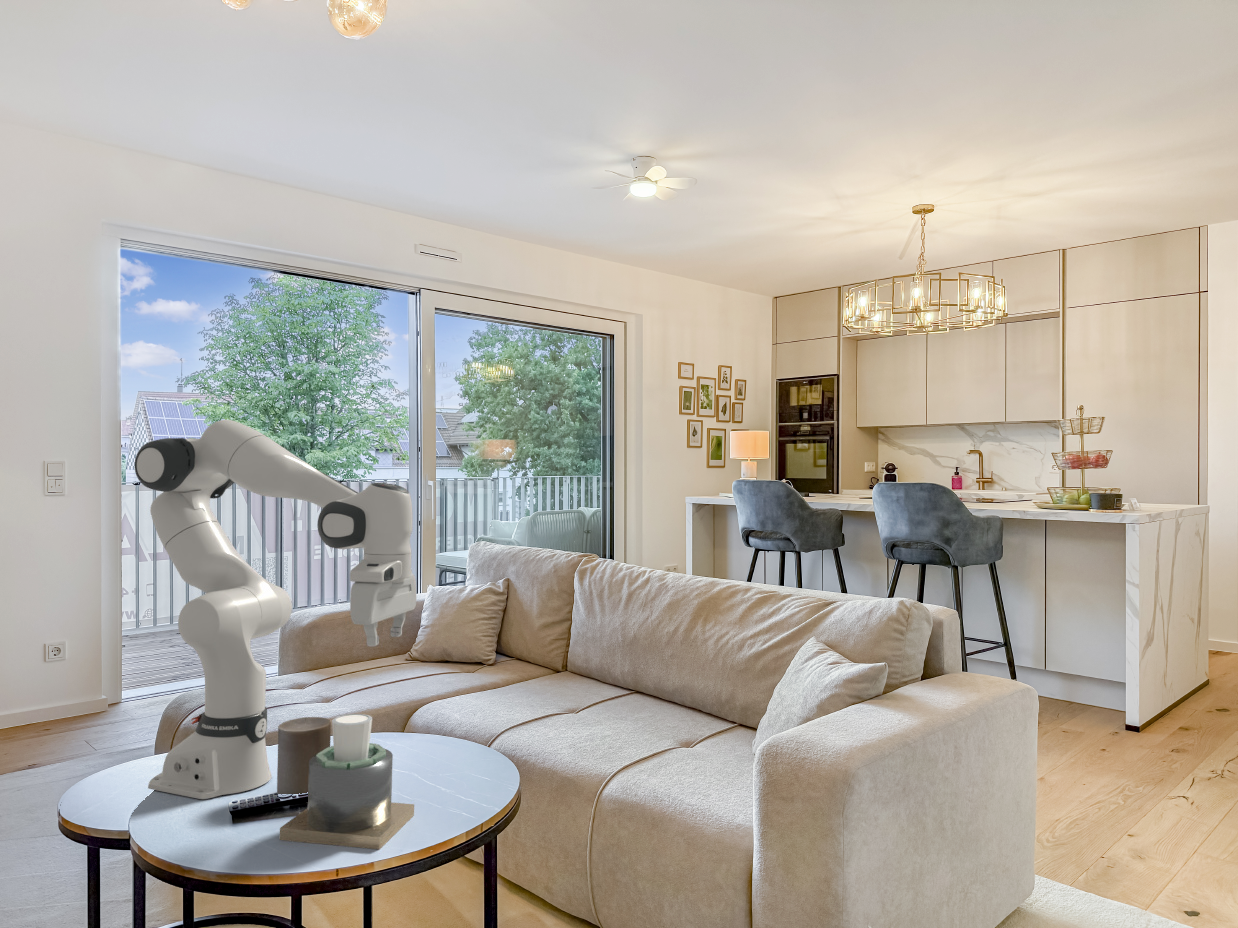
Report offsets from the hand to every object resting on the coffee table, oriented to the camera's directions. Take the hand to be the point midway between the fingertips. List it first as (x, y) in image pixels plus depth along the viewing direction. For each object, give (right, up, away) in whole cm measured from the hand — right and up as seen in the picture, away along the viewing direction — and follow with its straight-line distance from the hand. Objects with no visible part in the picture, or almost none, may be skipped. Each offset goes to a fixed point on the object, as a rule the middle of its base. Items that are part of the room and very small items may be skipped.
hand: (384, 640), depth 151 cm
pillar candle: (-17, -31, +3) cm, 35 cm away
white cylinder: (-3, -19, -11) cm, 22 cm away
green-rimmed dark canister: (-3, -30, -11) cm, 32 cm away
